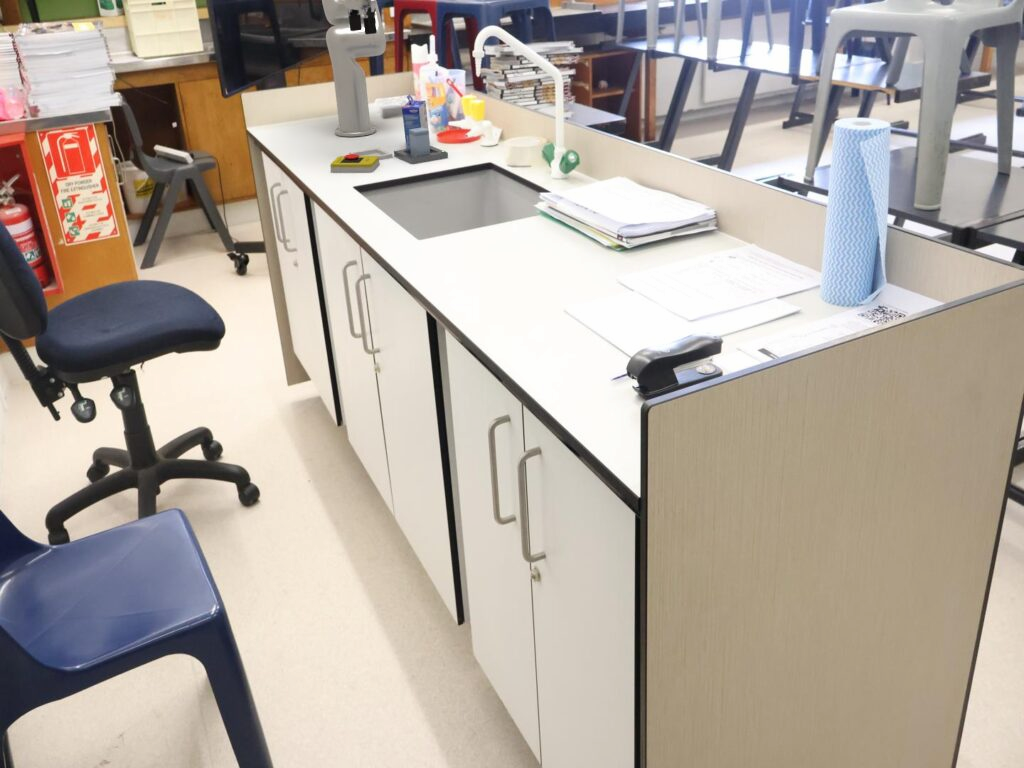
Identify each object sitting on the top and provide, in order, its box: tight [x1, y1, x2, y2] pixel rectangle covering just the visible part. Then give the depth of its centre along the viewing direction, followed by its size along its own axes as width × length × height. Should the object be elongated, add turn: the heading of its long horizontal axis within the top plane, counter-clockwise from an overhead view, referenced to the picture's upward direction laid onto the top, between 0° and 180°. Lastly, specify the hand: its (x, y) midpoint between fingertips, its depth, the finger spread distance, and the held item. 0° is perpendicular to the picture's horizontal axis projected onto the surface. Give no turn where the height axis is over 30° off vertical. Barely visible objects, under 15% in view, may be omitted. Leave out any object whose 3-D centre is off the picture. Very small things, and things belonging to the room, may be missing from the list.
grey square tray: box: [348, 147, 394, 161], centre depth 252 cm, size 9×9×2 cm
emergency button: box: [330, 153, 381, 174], centre depth 242 cm, size 9×4×15 cm
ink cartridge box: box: [401, 93, 431, 149], centre depth 261 cm, size 10×6×14 cm, turn 174°
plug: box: [409, 128, 431, 156], centre depth 249 cm, size 4×4×8 cm
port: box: [393, 145, 449, 165], centre depth 250 cm, size 11×11×2 cm
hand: (363, 32), depth 244 cm, fingers open, 9 cm apart
